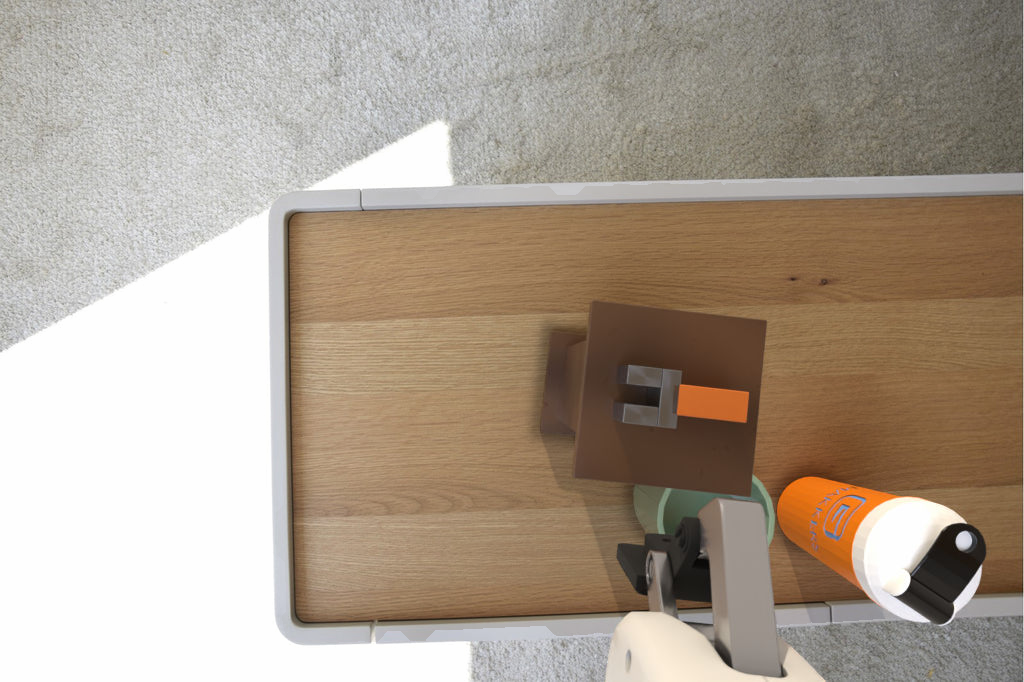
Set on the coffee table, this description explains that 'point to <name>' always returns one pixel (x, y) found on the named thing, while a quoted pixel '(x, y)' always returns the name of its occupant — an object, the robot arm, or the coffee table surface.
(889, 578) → the shaker bottle
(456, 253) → the coffee table surface
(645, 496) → the green cup
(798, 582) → the coffee table surface
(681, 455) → the stand
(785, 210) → the coffee table surface
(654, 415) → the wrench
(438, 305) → the coffee table surface
